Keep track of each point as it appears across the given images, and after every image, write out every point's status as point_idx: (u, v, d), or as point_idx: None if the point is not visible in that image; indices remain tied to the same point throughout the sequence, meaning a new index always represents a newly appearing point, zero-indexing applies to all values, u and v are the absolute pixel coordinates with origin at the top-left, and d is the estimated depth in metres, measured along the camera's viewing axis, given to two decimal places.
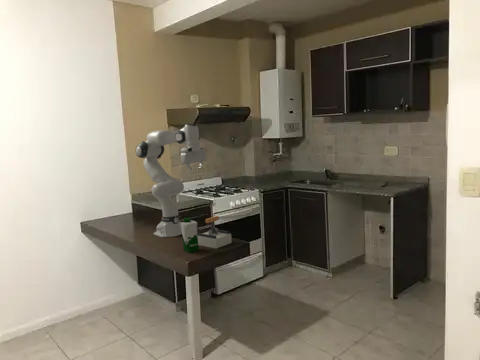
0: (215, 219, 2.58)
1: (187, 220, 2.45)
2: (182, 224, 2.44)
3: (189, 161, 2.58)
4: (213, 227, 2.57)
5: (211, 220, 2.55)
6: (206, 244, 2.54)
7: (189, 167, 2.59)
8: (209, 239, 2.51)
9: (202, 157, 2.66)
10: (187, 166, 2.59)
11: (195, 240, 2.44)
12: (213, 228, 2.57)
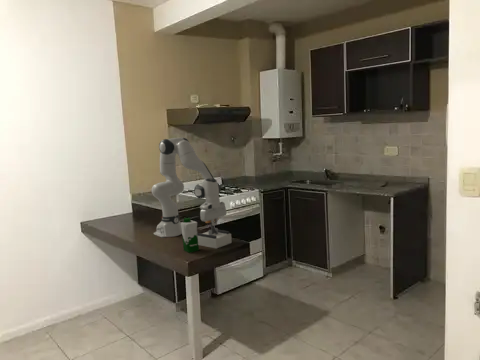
0: None
1: (187, 220, 2.45)
2: (182, 224, 2.44)
3: (209, 218, 2.50)
4: (213, 227, 2.57)
5: None
6: (206, 244, 2.54)
7: (213, 223, 2.54)
8: (209, 239, 2.51)
9: (222, 212, 2.58)
10: (211, 221, 2.55)
11: (195, 240, 2.44)
12: (213, 228, 2.57)
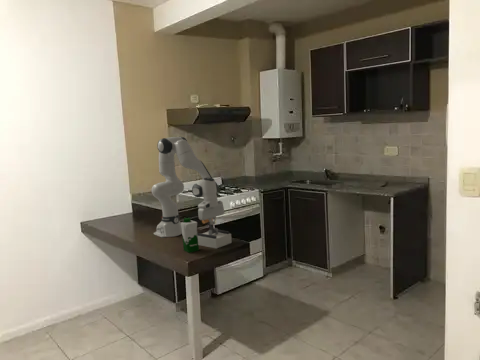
0: (212, 219, 2.60)
1: (187, 220, 2.45)
2: (182, 224, 2.44)
3: (207, 217, 2.51)
4: (212, 227, 2.58)
5: (208, 220, 2.57)
6: (206, 244, 2.54)
7: (211, 221, 2.55)
8: (209, 239, 2.51)
9: (219, 211, 2.60)
10: (209, 220, 2.56)
11: (195, 240, 2.44)
12: (212, 228, 2.58)
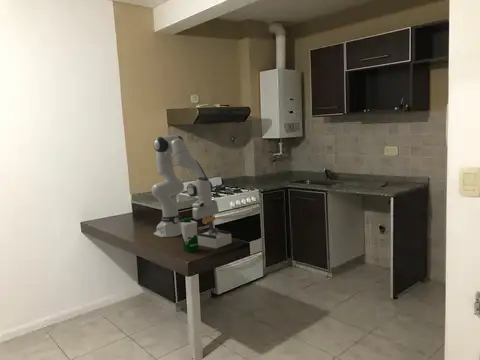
0: (212, 219, 2.60)
1: (187, 220, 2.45)
2: (182, 224, 2.44)
3: (201, 216, 2.55)
4: (212, 227, 2.58)
5: (208, 220, 2.57)
6: (206, 244, 2.54)
7: None
8: (209, 239, 2.51)
9: (214, 210, 2.63)
10: (203, 219, 2.59)
11: (195, 240, 2.44)
12: (212, 228, 2.58)
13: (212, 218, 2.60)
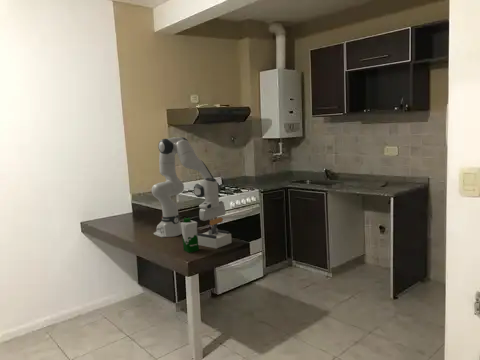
0: (219, 221, 2.56)
1: (187, 220, 2.45)
2: (182, 224, 2.44)
3: (208, 217, 2.50)
4: (215, 228, 2.56)
5: (215, 222, 2.53)
6: (206, 244, 2.54)
7: None
8: (209, 239, 2.51)
9: (221, 211, 2.59)
10: None
11: (195, 240, 2.44)
12: (214, 229, 2.57)
13: (220, 221, 2.56)
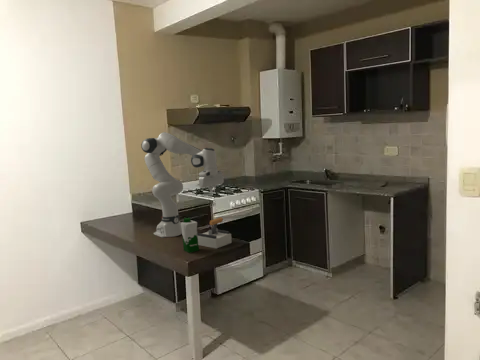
0: (219, 221, 2.56)
1: (187, 220, 2.45)
2: (182, 224, 2.44)
3: (207, 185, 2.64)
4: (215, 228, 2.56)
5: (215, 222, 2.53)
6: (206, 244, 2.54)
7: (211, 190, 2.69)
8: (209, 239, 2.51)
9: (219, 180, 2.73)
10: None
11: (195, 240, 2.44)
12: (214, 229, 2.57)
13: (220, 220, 2.56)
